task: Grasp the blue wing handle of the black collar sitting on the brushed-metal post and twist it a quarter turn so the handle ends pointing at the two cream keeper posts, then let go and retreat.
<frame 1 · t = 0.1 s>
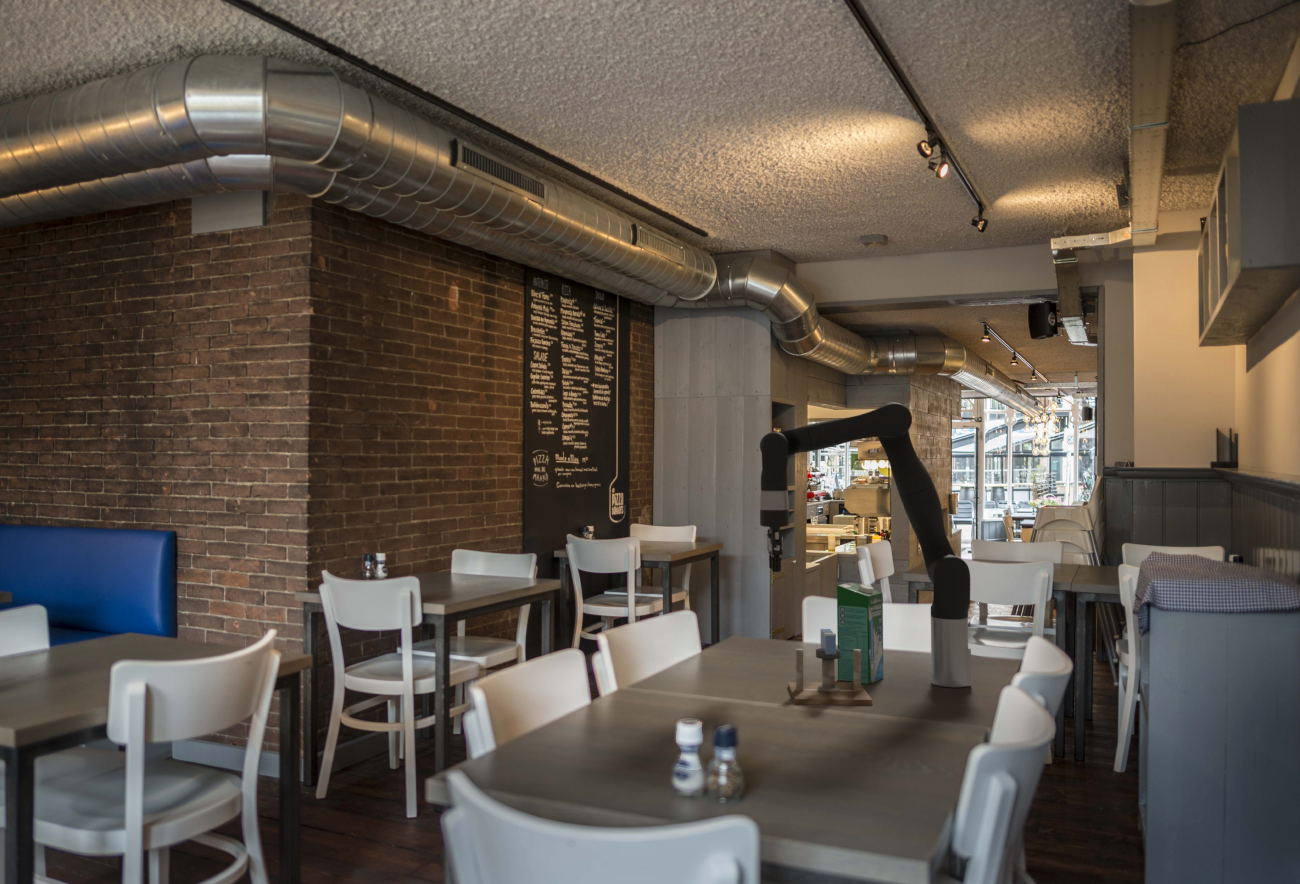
hand: (774, 570, 244), 29 cm above the table, fingers open, 8 cm apart
base plate: (828, 695, 229), on the table
milk carton: (860, 679, 247), on the table
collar: (828, 643, 229), point 13 cm above the table, hinge at 0.0°
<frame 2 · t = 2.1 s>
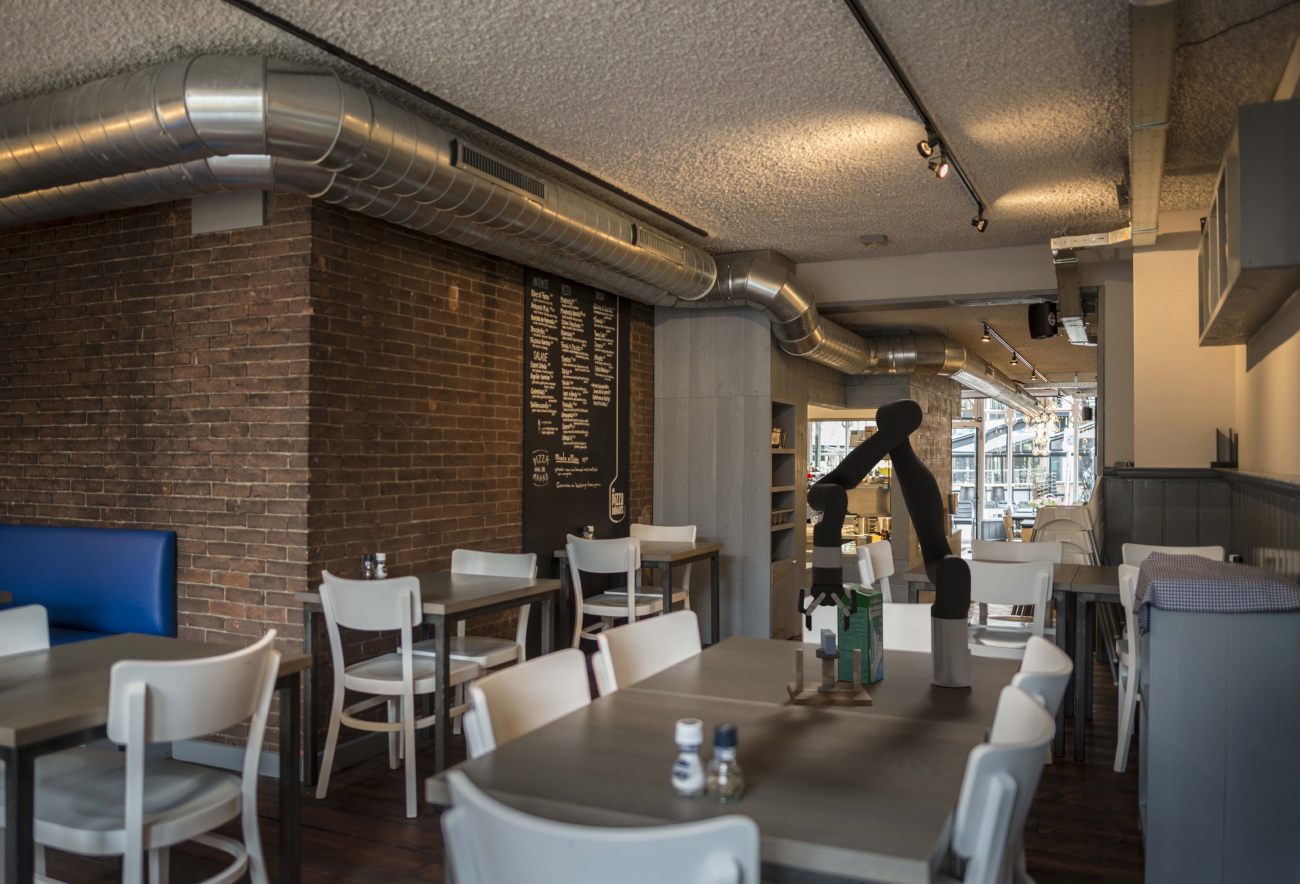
hand: (827, 630, 230), 16 cm above the table, fingers open, 8 cm apart
nothing on the table moved.
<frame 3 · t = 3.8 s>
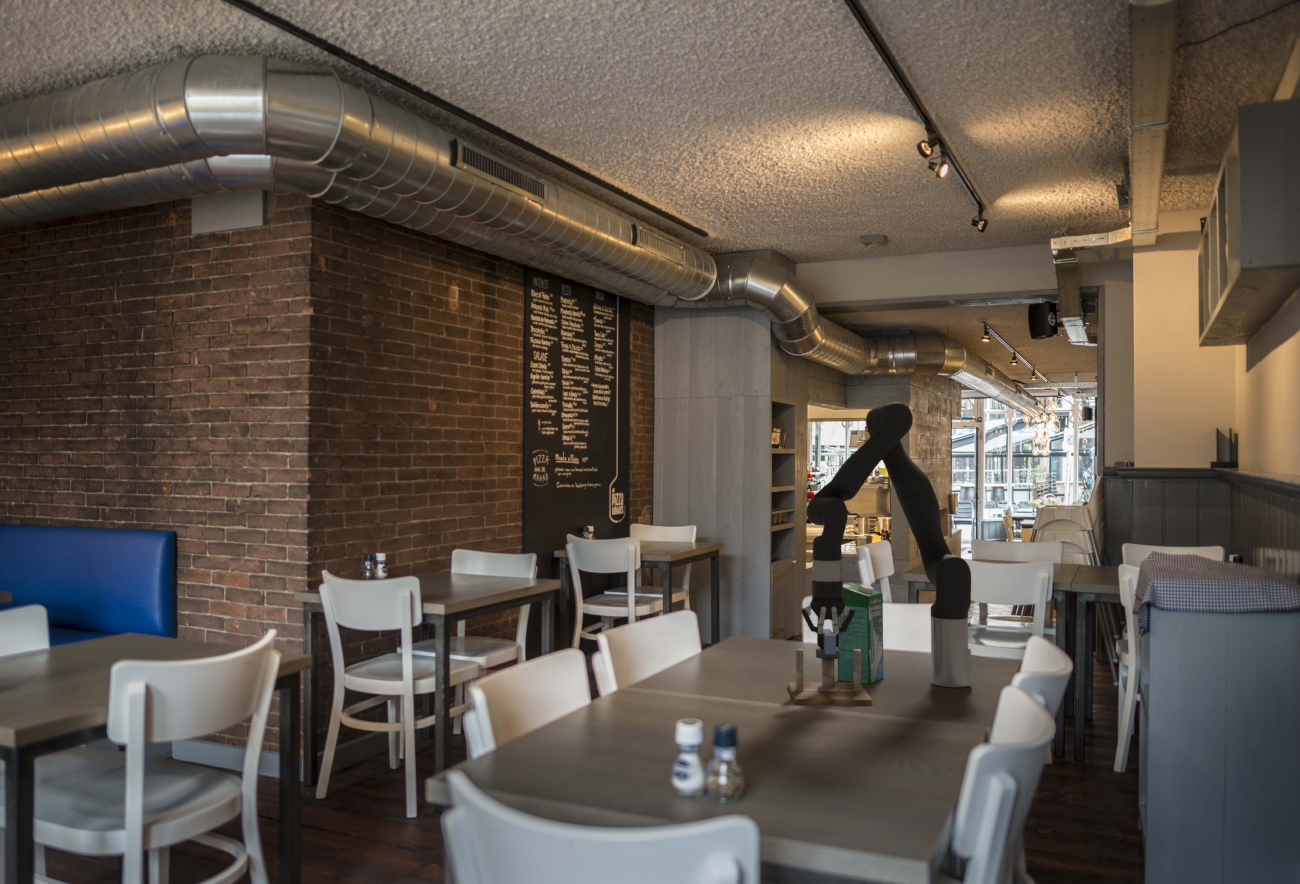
hand: (827, 648, 229), 11 cm above the table, fingers closed on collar, 2 cm apart
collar: (828, 643, 229), point 13 cm above the table, hinge at 0.0°, touching gripper
everything else where it was.
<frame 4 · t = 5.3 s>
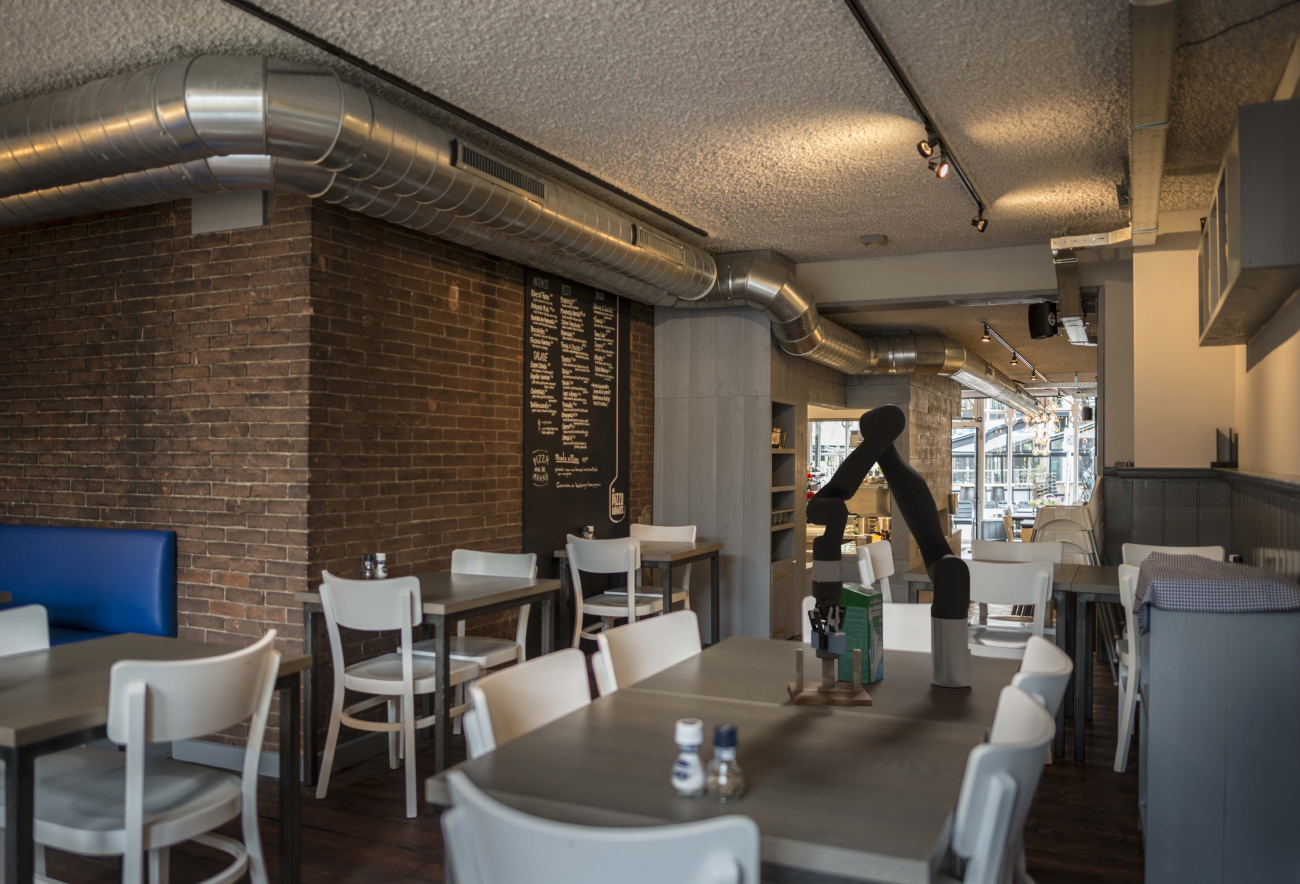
hand: (827, 648, 229), 11 cm above the table, fingers closed on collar, 3 cm apart
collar: (828, 643, 229), point 13 cm above the table, hinge at 33.7°, touching gripper
everything else where it was.
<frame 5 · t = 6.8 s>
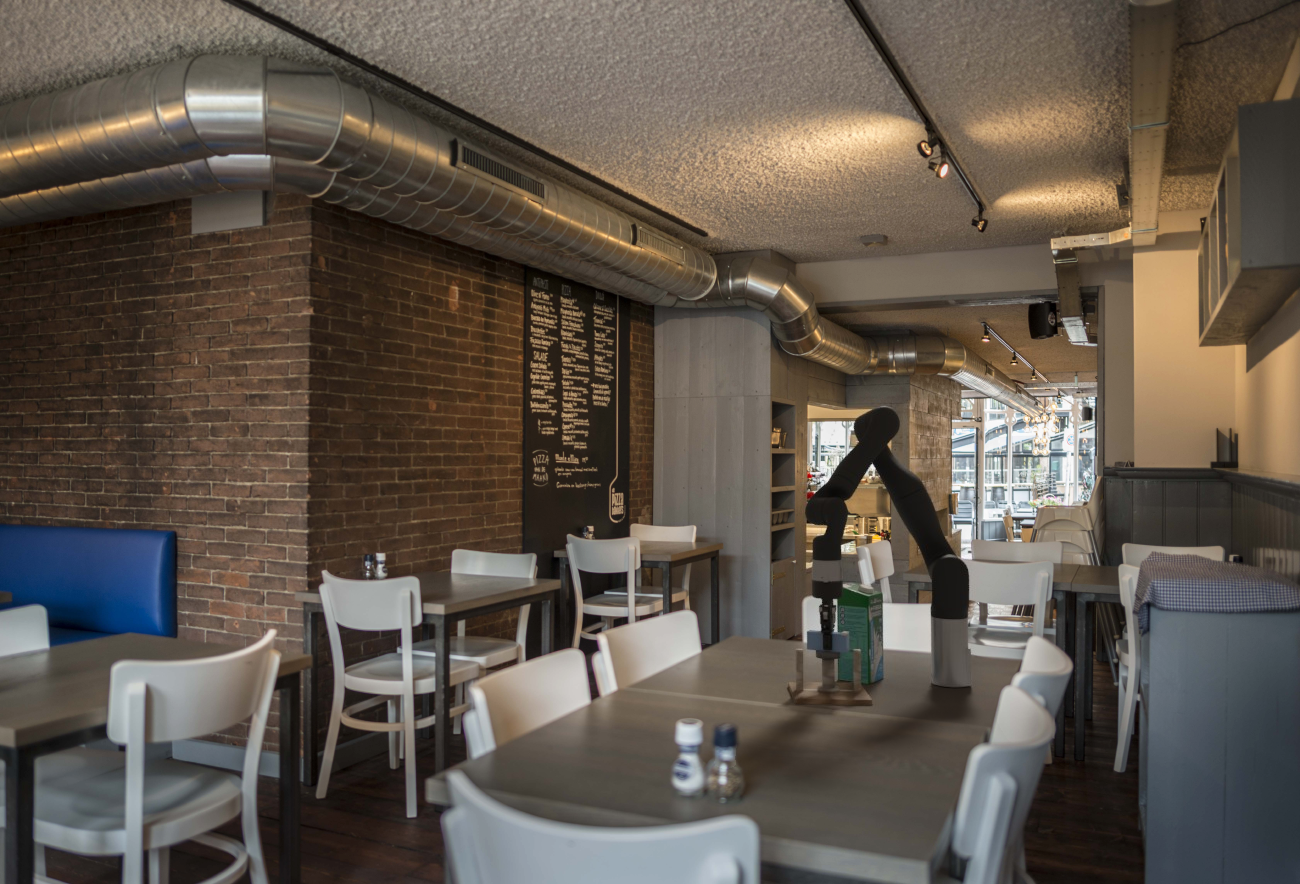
hand: (828, 648, 229), 11 cm above the table, fingers closed on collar, 3 cm apart
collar: (828, 643, 229), point 13 cm above the table, hinge at 65.1°, touching gripper
everything else where it was.
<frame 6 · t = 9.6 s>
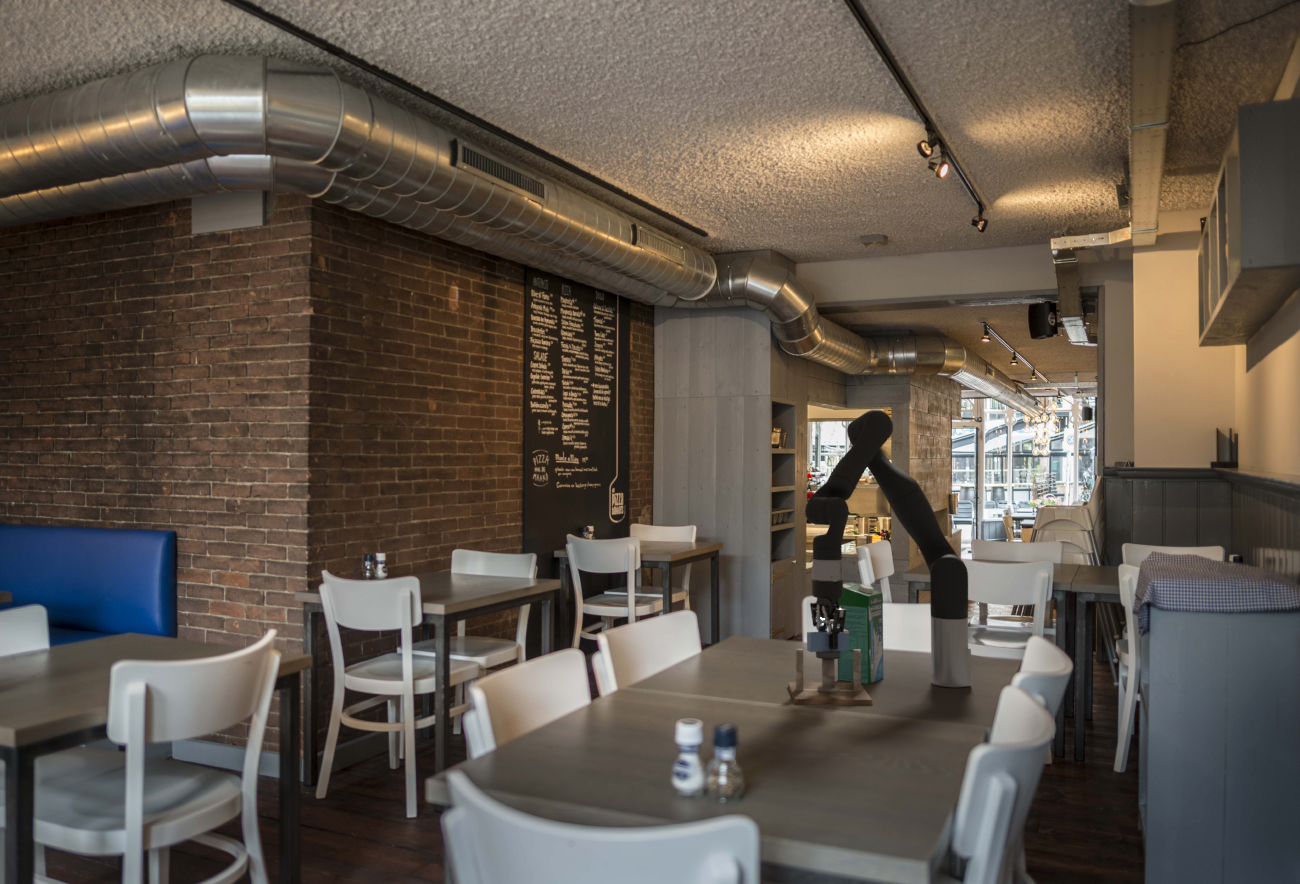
hand: (828, 647, 229), 12 cm above the table, fingers open, 4 cm apart
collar: (828, 643, 229), point 13 cm above the table, hinge at 104.1°
everything else where it was.
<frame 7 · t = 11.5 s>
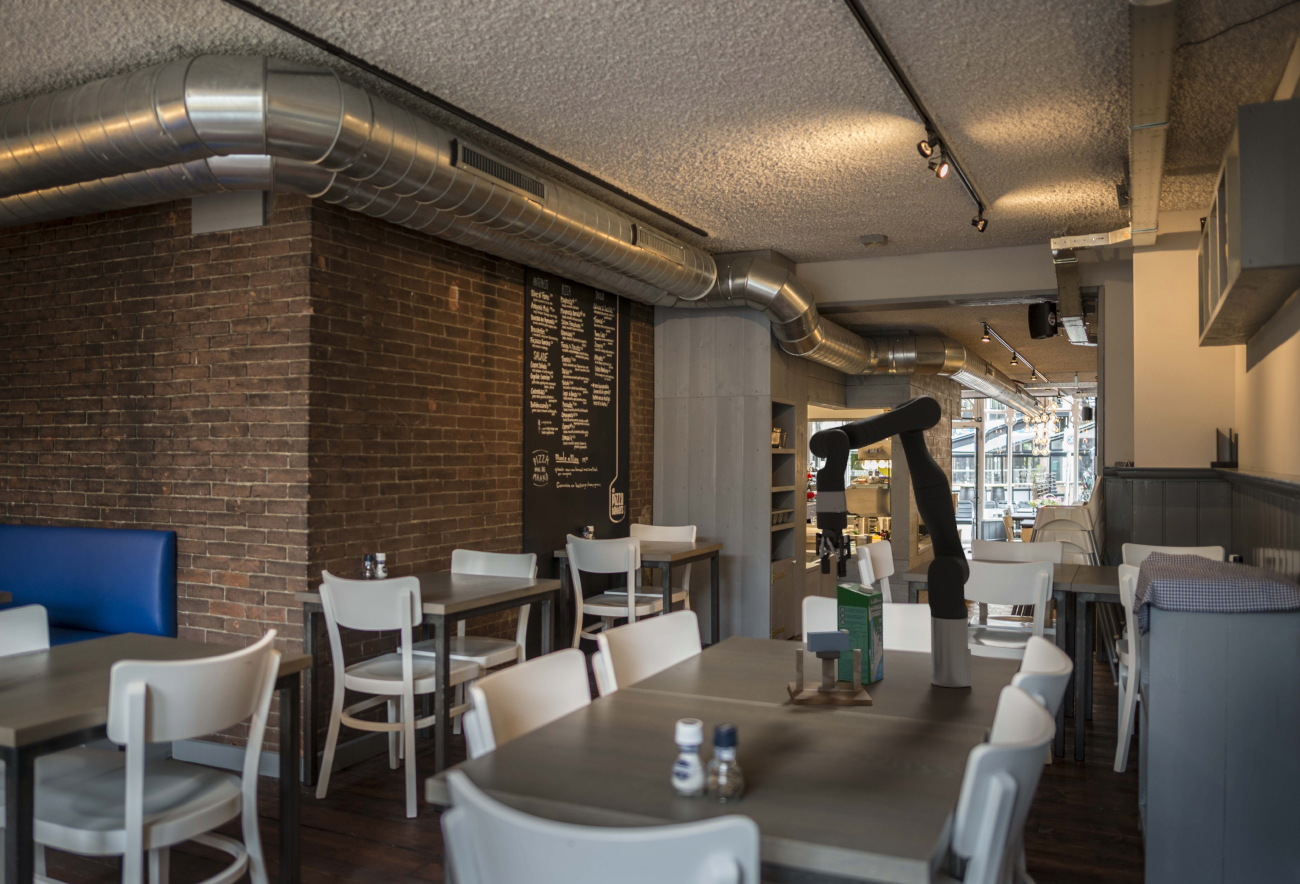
hand: (833, 575, 231), 29 cm above the table, fingers open, 8 cm apart
nothing on the table moved.
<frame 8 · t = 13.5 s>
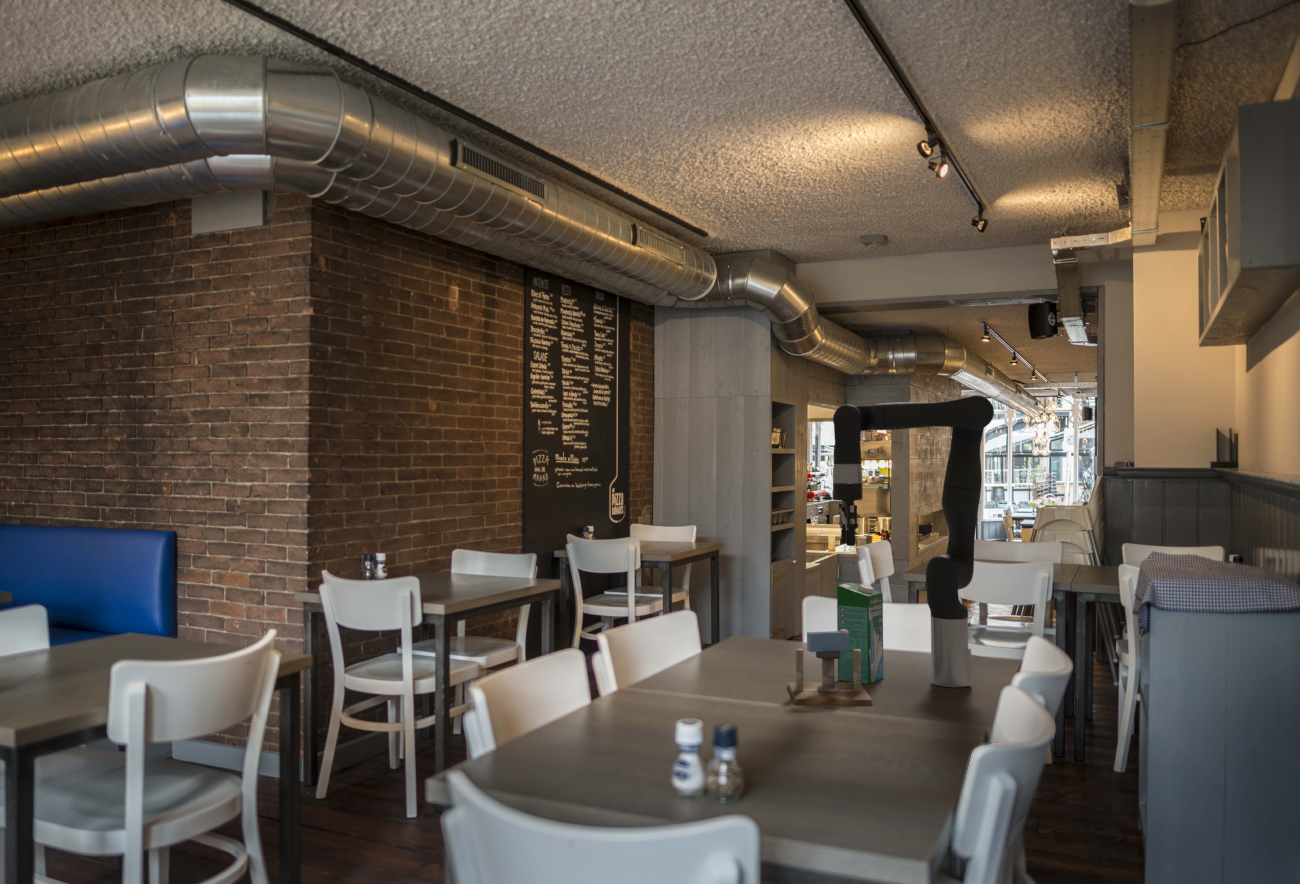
hand: (848, 544, 242), 36 cm above the table, fingers open, 8 cm apart
nothing on the table moved.
at the end: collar at +104° (first picture: +0°); the gripper is holding nothing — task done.
